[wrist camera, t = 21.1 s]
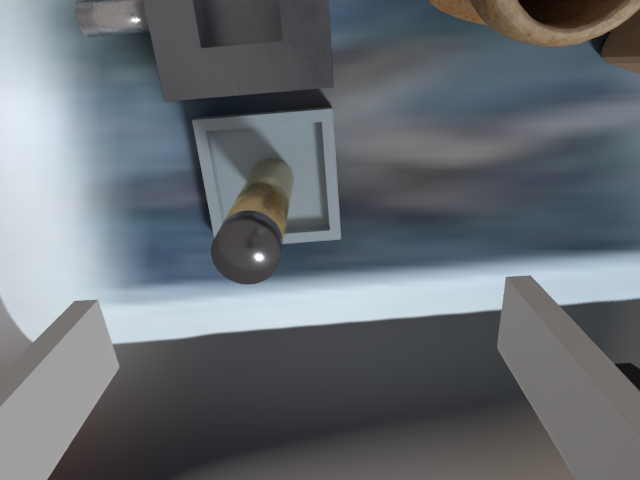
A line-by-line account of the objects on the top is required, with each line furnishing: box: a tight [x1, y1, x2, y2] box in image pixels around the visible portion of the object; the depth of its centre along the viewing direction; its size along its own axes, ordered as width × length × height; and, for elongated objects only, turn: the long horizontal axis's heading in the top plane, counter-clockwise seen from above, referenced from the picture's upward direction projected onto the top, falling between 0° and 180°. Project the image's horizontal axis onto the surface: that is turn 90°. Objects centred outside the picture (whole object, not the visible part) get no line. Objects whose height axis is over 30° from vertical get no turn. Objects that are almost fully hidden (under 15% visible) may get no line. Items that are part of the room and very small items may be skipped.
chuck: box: [75, 0, 334, 101], centre depth 31 cm, size 12×18×8 cm, turn 94°
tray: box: [192, 106, 341, 244], centre depth 39 cm, size 12×12×2 cm
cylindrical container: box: [211, 158, 294, 284], centre depth 32 cm, size 4×4×16 cm
